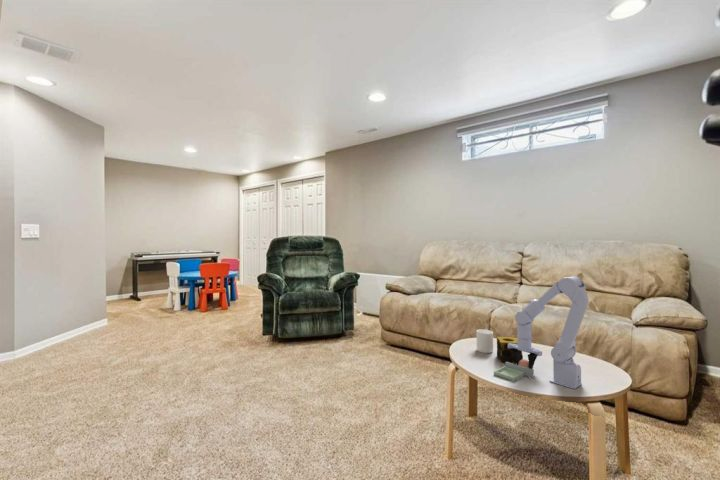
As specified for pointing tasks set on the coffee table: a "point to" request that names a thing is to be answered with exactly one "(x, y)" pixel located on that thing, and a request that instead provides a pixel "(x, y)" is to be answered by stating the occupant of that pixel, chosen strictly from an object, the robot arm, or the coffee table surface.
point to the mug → (485, 341)
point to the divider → (521, 369)
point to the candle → (506, 349)
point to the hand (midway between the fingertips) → (524, 367)
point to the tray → (509, 373)
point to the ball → (524, 363)
